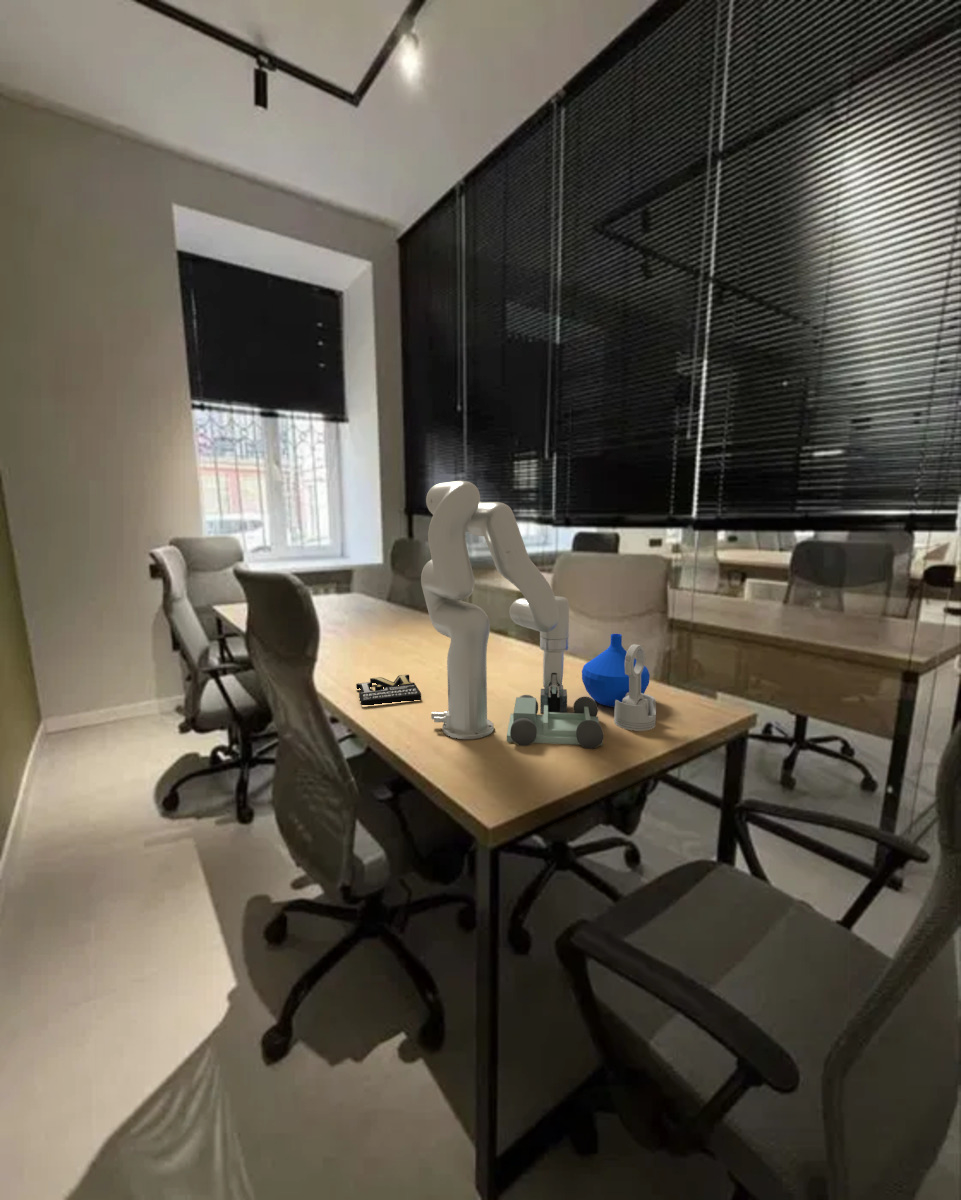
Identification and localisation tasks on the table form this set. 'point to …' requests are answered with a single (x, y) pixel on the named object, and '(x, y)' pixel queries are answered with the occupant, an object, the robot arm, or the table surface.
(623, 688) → the vase
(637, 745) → the table surface
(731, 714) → the table surface
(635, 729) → the engine component
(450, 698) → the robot arm
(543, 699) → the block
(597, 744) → the chassis
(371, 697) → the decorative sign
